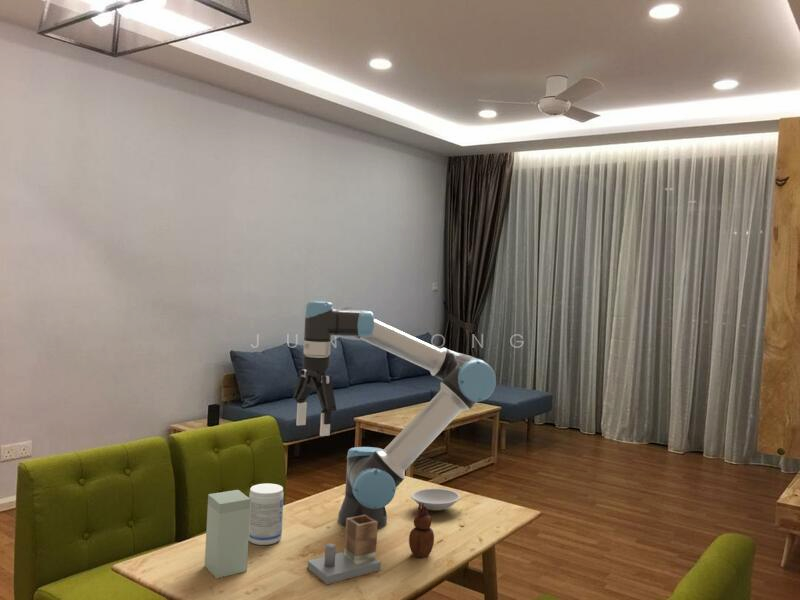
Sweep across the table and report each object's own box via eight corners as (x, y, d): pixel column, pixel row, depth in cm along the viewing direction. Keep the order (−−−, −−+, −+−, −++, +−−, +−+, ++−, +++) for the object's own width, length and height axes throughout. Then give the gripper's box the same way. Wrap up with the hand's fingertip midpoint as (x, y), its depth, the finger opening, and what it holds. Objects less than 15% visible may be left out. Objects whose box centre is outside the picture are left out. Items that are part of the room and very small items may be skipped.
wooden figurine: (415, 561, 171) (418, 506, 171) (405, 552, 177) (408, 499, 176) (436, 557, 175) (439, 503, 174) (426, 549, 180) (429, 496, 179)
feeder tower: (235, 558, 167) (239, 489, 166) (248, 570, 160) (251, 498, 160) (204, 565, 162) (208, 494, 161) (215, 578, 155) (219, 504, 155)
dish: (441, 499, 222) (442, 485, 222) (469, 513, 210) (470, 498, 210) (401, 507, 212) (402, 492, 212) (427, 522, 200) (428, 506, 200)
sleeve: (363, 550, 171) (365, 514, 171) (375, 559, 166) (377, 521, 166) (344, 555, 168) (346, 518, 167) (356, 564, 163) (358, 525, 163)
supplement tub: (286, 542, 178) (289, 491, 178) (254, 548, 173) (257, 495, 173) (273, 530, 187) (276, 481, 186) (242, 536, 181) (244, 485, 181)
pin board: (359, 555, 173) (361, 529, 173) (380, 569, 165) (381, 543, 165) (307, 568, 163) (308, 541, 163) (326, 584, 155) (328, 556, 155)
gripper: (284, 350, 187) (280, 422, 188) (327, 361, 167) (323, 441, 168) (306, 350, 192) (302, 419, 192) (351, 361, 172) (347, 438, 172)
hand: (312, 430), depth 180 cm, fingers open, 13 cm apart
